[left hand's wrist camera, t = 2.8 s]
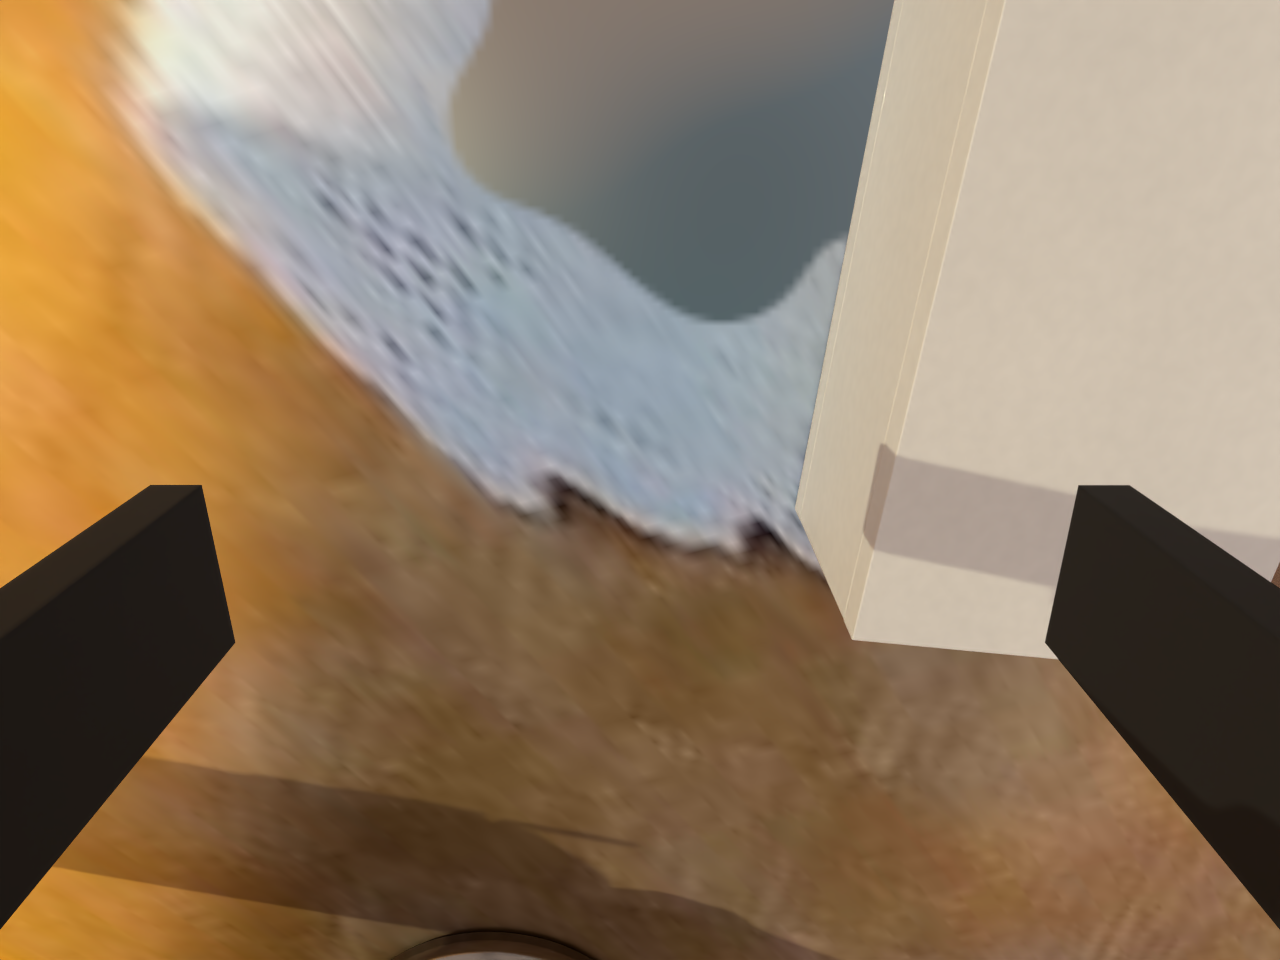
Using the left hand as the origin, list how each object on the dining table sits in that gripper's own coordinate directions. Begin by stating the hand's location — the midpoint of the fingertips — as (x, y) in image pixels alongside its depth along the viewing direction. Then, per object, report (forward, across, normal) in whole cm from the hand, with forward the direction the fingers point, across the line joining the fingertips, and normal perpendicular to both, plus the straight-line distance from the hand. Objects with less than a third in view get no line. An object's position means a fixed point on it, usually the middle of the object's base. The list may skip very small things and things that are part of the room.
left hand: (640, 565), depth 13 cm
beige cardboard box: (+19, -13, -1) cm, 23 cm away
